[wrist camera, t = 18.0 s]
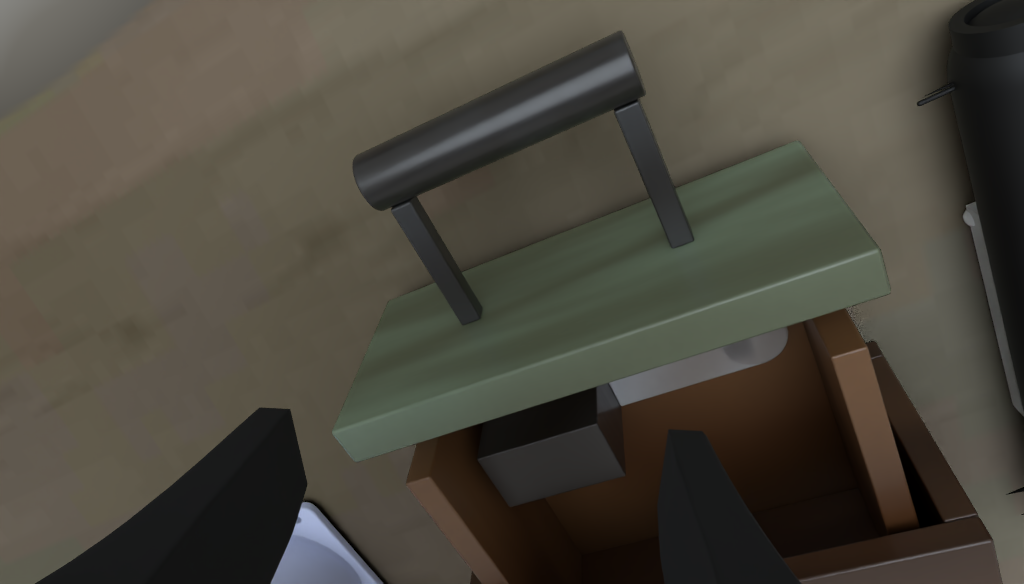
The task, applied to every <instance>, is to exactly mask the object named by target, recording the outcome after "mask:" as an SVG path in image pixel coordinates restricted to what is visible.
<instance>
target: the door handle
mask: <svg viewBox="0 0 1024 584" xmlns="http://www.w3.org/2000/svg"><path fill="white" fill-rule="evenodd" d="M949 30H950V35H951V39H952V44H953V46H952V48H951V51H950V54H949V57H948V63H947V79H948V82H947V83H948V84H947V85H945V86H943V87H941V88H939V89H937V90H936V91H934V92H937V91H939V90H942V89H945V88H947V87H949V88H947V89H945V90H943V91H941V92H939V93H936V94H934V95H932V96H930V97H928V98H925V99H923V100H921V101H919V102H918V103H917V105H918V106H922V105H924V104H926V103H928V102H930V101H933V100H935V99H937V98H939V97H942V96H944V95H946V94H948V93H950V92H951V97H952V101H953V105H954V110H955V114H956V119H957V123H958V127H959V132H960V136H961V140H962V145H963V149H964V153H965V158H966V162H967V167H968V171H969V175H970V180H971V184H972V188H973V193H974V197H975V202H973V203H971V204H968V205H966V210H965V212H964V214H963V220H964V222H965V223H966V224H967V225H969V226H970V227H971V231H972V235H973V239H974V244H975V248H976V252H977V256H978V260H979V265H980V269H981V273H982V277H983V281H984V286H985V290H986V294H987V298H988V303H989V307H990V311H991V315H992V319H993V324H994V328H995V332H996V336H997V340H998V345H999V349H1000V353H1001V357H1002V362H1003V366H1004V370H1005V374H1006V378H1007V383H1008V387H1009V391H1010V395H1011V399H1012V404H1013V405H1014V407H1015V408H1016V409H1017V410H1018V411H1019V412H1020V413H1021V414H1022V415H1023V417H1024V0H975V1H973V2H971V3H970V4H968V5H966V6H965V7H963V8H962V9H961V10H959V11H958V12H957V13H956V14H955V15H954V16H953V17H952V18H951V19H950V21H949ZM934 92H932V93H934ZM932 93H930V94H932ZM928 95H929V94H928ZM926 96H927V95H926ZM1022 491H1024V487H1023V488H1020V489H1018V490H1016V491H1013V492H1011V493H1008V494H1012V493H1017V492H1022ZM1006 495H1007V494H1006ZM1022 515H1024V514H1022Z"/></svg>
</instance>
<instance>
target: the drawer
mask: <svg viewBox="0 0 1024 584" xmlns="http://www.w3.org/2000/svg"><path fill="white" fill-rule="evenodd" d="M645 95H646V91H645V87H644V84H643V81H642V79H641V76H640V73H639V70H638V68H637V65H636V62H635V60H634V57H633V55H632V52H631V50H630V47H629V45H628V42H627V40H626V38H625V35H624V33H623V32H622V31H618V32H616V33H614V34H611V35H609V36H607V37H605V38H603V39H601V40H599V41H597V42H595V43H592V44H590V45H588V46H586V47H584V48H582V49H580V50H578V51H576V52H573V53H571V54H569V55H567V56H565V57H563V58H561V59H559V60H557V61H554V62H552V63H550V64H548V65H546V66H544V67H542V68H540V69H538V70H536V71H533V72H531V73H529V74H527V75H525V76H523V77H521V78H519V79H517V80H514V81H512V82H510V83H508V84H506V85H504V86H502V87H500V88H498V89H495V90H493V91H491V92H489V93H487V94H485V95H483V96H481V97H479V98H476V99H474V100H472V101H470V102H468V103H466V104H464V105H462V106H460V107H457V108H455V109H453V110H451V111H449V112H447V113H445V114H443V115H441V116H439V117H436V118H434V119H432V120H430V121H428V122H426V123H424V124H422V125H420V126H417V127H415V128H413V129H411V130H409V131H407V132H405V133H403V134H401V135H398V136H396V137H394V138H392V139H390V140H388V141H386V142H384V143H382V144H379V145H377V146H375V147H373V148H371V149H369V150H367V151H365V152H363V153H360V154H358V155H357V156H356V157H355V158H354V160H353V173H354V177H355V180H356V183H357V186H358V188H359V190H360V192H361V193H362V195H363V196H364V198H365V199H366V201H367V202H368V203H369V204H370V205H371V206H372V207H373V208H375V209H377V210H380V211H383V210H386V209H388V208H391V207H392V209H391V212H392V213H393V215H394V217H395V218H396V220H397V221H398V223H399V225H400V226H401V228H402V230H403V231H404V233H405V234H406V236H407V238H408V239H409V241H410V242H411V244H412V246H413V247H414V249H415V250H416V252H417V254H418V255H419V257H420V258H421V260H422V262H423V263H424V265H425V266H426V268H427V270H428V271H429V273H430V275H431V276H432V278H433V279H434V281H435V283H433V284H430V285H428V286H425V287H423V288H420V289H418V290H415V291H413V292H410V293H407V294H405V295H402V296H400V297H397V298H395V299H392V300H390V301H389V302H388V303H387V306H386V308H385V310H384V312H383V315H382V317H381V319H380V322H379V324H378V326H377V329H376V331H375V333H374V336H373V338H372V340H371V343H370V345H369V347H368V349H367V352H366V354H365V356H364V359H363V361H362V363H361V366H360V368H359V370H358V373H357V375H356V377H355V380H354V382H353V384H352V386H351V389H350V391H349V393H348V396H347V398H346V400H345V403H344V405H343V407H342V410H341V412H340V414H339V417H338V419H337V421H336V423H335V426H334V428H333V430H332V433H333V435H334V437H335V438H336V439H337V440H338V442H339V443H340V444H341V445H342V447H343V448H344V449H345V450H346V452H347V453H348V454H349V455H350V457H351V458H352V459H353V460H354V461H355V462H360V461H363V460H366V459H369V458H373V457H376V456H379V455H382V454H385V453H388V452H392V451H395V450H398V449H401V448H404V447H407V446H411V445H414V444H417V445H416V449H415V452H414V456H413V460H412V463H411V467H410V470H409V474H408V477H407V481H406V486H407V487H408V488H409V490H410V491H411V492H412V494H413V495H414V496H415V497H416V499H417V500H418V501H419V503H420V504H421V505H422V507H423V508H424V509H425V510H426V512H427V513H428V514H429V516H430V517H431V518H432V520H433V521H434V522H435V523H436V525H437V526H438V527H439V529H440V530H441V531H442V532H443V534H444V535H445V536H446V538H447V539H448V540H449V542H450V543H451V544H452V545H453V547H454V548H455V549H456V551H457V552H458V553H459V554H460V556H461V557H462V558H463V560H464V561H465V562H466V564H467V565H468V566H469V567H470V569H471V570H472V571H473V573H474V574H475V575H476V577H477V578H478V579H479V580H480V582H481V583H482V584H665V582H664V576H663V571H662V564H661V558H660V544H659V529H658V511H657V503H658V496H659V490H660V483H661V476H662V469H663V463H664V456H665V449H666V442H667V435H668V429H673V430H692V431H702V432H703V433H704V434H705V435H706V436H707V437H708V439H709V441H710V443H711V445H712V447H713V449H714V451H715V453H716V455H717V457H718V458H719V460H720V462H721V464H722V466H723V468H724V469H725V471H726V473H727V475H728V476H729V478H730V480H731V481H732V483H733V485H734V486H735V488H736V490H737V491H738V493H739V495H740V496H741V498H742V500H743V501H744V503H745V504H746V506H747V507H748V509H749V510H750V512H751V513H752V515H753V517H754V518H755V520H756V521H757V523H758V524H759V526H760V527H761V529H762V530H763V532H764V533H765V535H766V536H767V537H768V539H769V540H770V542H771V543H772V545H773V546H774V547H775V549H776V550H777V552H778V553H779V554H780V556H781V557H782V558H786V557H791V556H796V555H800V554H805V553H809V552H814V551H818V550H823V549H828V548H832V547H837V546H841V545H846V544H850V543H855V542H860V541H864V540H869V539H873V538H878V537H882V536H887V535H892V534H896V533H901V532H905V531H910V530H914V529H919V528H920V525H919V522H918V519H917V515H916V512H915V508H914V505H913V501H912V498H911V494H910V491H909V488H908V484H907V481H906V477H905V474H904V470H903V467H902V463H901V460H900V457H899V453H898V450H897V446H896V443H895V439H894V436H893V432H892V429H891V425H890V422H889V419H888V415H887V412H886V408H885V405H884V401H883V398H882V394H881V391H880V388H879V384H878V381H877V377H876V374H875V370H874V367H873V363H872V360H871V357H870V353H869V350H868V347H867V345H866V343H865V342H864V340H863V338H862V336H861V335H860V333H859V331H858V329H857V328H856V326H855V324H854V322H853V321H852V319H851V317H850V315H849V314H848V312H847V310H846V308H848V307H851V306H854V305H857V304H860V303H863V302H867V301H870V300H873V299H876V298H879V297H882V296H886V295H888V294H890V291H891V288H890V284H889V280H888V276H887V272H886V269H885V265H884V261H883V257H882V253H881V249H880V248H879V247H878V245H877V244H876V243H875V241H874V240H873V239H872V237H871V236H870V235H869V233H868V232H867V231H866V229H865V228H864V227H863V225H862V224H861V223H860V221H859V220H858V219H857V217H856V216H855V215H854V213H853V212H852V211H851V209H850V208H849V206H848V205H847V204H846V202H845V201H844V200H843V198H842V197H841V196H840V194H839V193H838V192H837V190H836V189H835V188H834V186H833V185H832V184H831V182H830V181H829V180H828V178H827V177H826V176H825V174H824V173H823V172H822V170H821V169H820V168H819V166H818V165H817V164H816V162H815V161H814V159H813V158H812V157H811V155H810V154H809V153H808V151H807V150H806V149H805V147H804V146H803V145H802V143H801V142H800V141H795V142H792V143H789V144H787V145H784V146H782V147H779V148H777V149H774V150H772V151H769V152H767V153H764V154H761V155H759V156H756V157H754V158H751V159H749V160H746V161H744V162H741V163H738V164H736V165H733V166H731V167H728V168H726V169H723V170H721V171H718V172H716V173H713V174H710V175H708V176H705V177H703V178H700V179H698V180H695V181H693V182H690V183H688V184H685V185H682V186H680V187H677V188H675V187H674V184H673V182H672V179H671V177H670V174H669V172H668V169H667V167H666V164H665V162H664V159H663V157H662V154H661V152H660V149H659V147H658V144H657V142H656V139H655V137H654V134H653V132H652V129H651V127H650V124H649V122H648V119H647V117H646V114H645V112H644V109H643V107H642V104H641V102H640V99H639V98H641V97H643V96H645ZM613 109H614V113H615V116H616V118H617V121H618V123H619V125H620V128H621V130H622V132H623V135H624V137H625V140H626V142H627V144H628V147H629V149H630V151H631V154H632V156H633V158H634V161H635V163H636V166H637V168H638V170H639V173H640V175H641V177H642V180H643V182H644V185H645V187H646V189H647V192H648V194H649V196H650V198H649V199H647V200H644V201H642V202H639V203H637V204H634V205H632V206H629V207H626V208H624V209H621V210H619V211H616V212H614V213H611V214H609V215H606V216H604V217H601V218H598V219H596V220H593V221H591V222H588V223H586V224H583V225H581V226H578V227H576V228H573V229H570V230H568V231H565V232H563V233H560V234H558V235H555V236H553V237H550V238H548V239H545V240H542V241H540V242H537V243H535V244H532V245H530V246H527V247H525V248H522V249H519V250H517V251H514V252H512V253H509V254H507V255H504V256H502V257H499V258H497V259H494V260H491V261H489V262H486V263H484V264H481V265H479V266H476V267H474V268H471V269H469V270H466V271H463V272H461V271H460V269H459V267H458V265H457V264H456V262H455V260H454V259H453V257H452V255H451V254H450V252H449V250H448V249H447V247H446V245H445V244H444V242H443V240H442V239H441V237H440V235H439V234H438V232H437V230H436V229H435V227H434V225H433V224H432V222H431V220H430V219H429V217H428V215H427V214H426V212H425V210H424V208H423V207H422V205H421V203H420V202H419V200H418V198H417V197H416V196H418V195H420V194H422V193H425V192H427V191H429V190H431V189H434V188H436V187H438V186H441V185H443V184H445V183H447V182H450V181H452V180H454V179H456V178H459V177H461V176H463V175H466V174H468V173H470V172H472V171H475V170H477V169H479V168H482V167H484V166H486V165H488V164H491V163H493V162H495V161H497V160H500V159H502V158H504V157H507V156H509V155H511V154H513V153H516V152H518V151H520V150H522V149H525V148H527V147H529V146H532V145H534V144H536V143H538V142H541V141H543V140H545V139H547V138H550V137H552V136H554V135H557V134H559V133H561V132H563V131H566V130H568V129H570V128H572V127H575V126H577V125H579V124H582V123H584V122H586V121H588V120H591V119H593V118H595V117H598V116H600V115H602V114H604V113H607V112H609V111H611V110H613ZM784 327H787V330H788V340H787V343H786V346H785V347H784V349H783V350H782V352H781V353H780V354H779V355H778V356H776V357H775V358H774V359H772V360H770V361H768V362H766V363H763V364H760V365H756V366H753V367H750V368H746V369H743V370H740V371H736V372H733V373H730V374H726V375H723V376H720V377H717V378H713V379H710V380H707V381H703V382H700V383H697V384H693V385H690V386H687V387H683V388H680V389H677V390H674V391H670V392H667V393H664V394H660V395H657V396H654V397H650V398H647V399H644V400H640V401H637V402H634V403H631V404H627V405H624V406H621V410H622V425H623V440H624V454H625V469H626V476H624V477H620V478H617V479H613V480H609V481H606V482H602V483H598V484H594V485H591V486H587V487H583V488H580V489H576V490H572V491H569V492H565V493H561V494H557V495H554V496H550V497H546V498H543V499H539V500H535V501H532V502H528V503H524V504H520V505H517V506H513V507H509V506H508V504H507V503H506V501H505V500H504V498H503V497H502V495H501V494H500V493H499V491H498V490H497V488H496V487H495V485H494V484H493V482H492V481H491V479H490V478H489V476H488V475H487V474H486V472H485V471H484V469H483V468H482V466H481V465H480V463H479V462H478V460H477V456H478V450H479V445H480V439H481V433H482V428H483V422H487V421H490V420H493V419H496V418H499V417H502V416H506V415H509V414H512V413H515V412H518V411H521V410H525V409H528V408H531V407H534V406H537V405H540V404H544V403H547V402H550V401H553V400H556V399H559V398H563V397H566V396H569V395H572V394H575V393H578V392H582V391H585V390H588V389H591V388H594V387H597V386H601V385H604V384H607V383H610V382H613V381H616V380H620V379H623V378H626V377H629V376H632V375H635V374H639V373H642V372H645V371H648V370H651V369H654V368H658V367H661V366H664V365H667V364H670V363H673V362H677V361H680V360H683V359H686V358H689V357H692V356H696V355H699V354H702V353H705V352H708V351H711V350H715V349H718V348H721V347H724V346H727V345H730V344H734V343H737V342H740V341H743V340H746V339H749V338H753V337H756V336H759V335H762V334H765V333H768V332H772V331H775V330H778V329H781V328H784Z"/></svg>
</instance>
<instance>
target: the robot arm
mask: <svg viewBox="0 0 1024 584" xmlns="http://www.w3.org/2000/svg"><path fill="white" fill-rule="evenodd" d="M306 487H307V480H306V476H305V471H304V467H303V463H302V458H301V454H300V450H299V445H298V441H297V437H296V433H295V428H294V424H293V420H292V415H291V411H290V409H276V408H259V409H258V410H256V411H255V412H254V413H253V414H252V415H251V416H249V417H248V418H247V419H246V420H245V421H244V422H243V423H242V424H241V425H239V426H238V427H237V428H236V429H235V430H234V431H233V432H232V433H230V434H229V435H228V436H227V437H226V438H225V439H224V440H223V441H222V442H220V443H219V444H218V445H217V446H216V447H215V448H214V449H213V450H212V451H210V452H209V453H208V454H207V455H206V456H205V457H204V458H203V459H202V460H200V461H199V462H198V463H197V464H196V465H195V466H193V467H192V468H191V469H190V470H189V471H188V472H187V473H185V474H184V475H183V476H182V477H181V478H180V479H179V480H177V481H176V482H175V483H174V484H173V485H172V486H170V487H169V488H168V489H167V490H165V491H164V492H163V493H162V494H160V495H159V496H158V497H157V498H155V499H154V500H153V501H152V502H150V503H149V504H148V505H147V506H146V507H144V508H143V509H142V510H141V511H139V512H138V513H137V514H136V515H134V516H133V517H132V518H131V519H129V520H128V521H127V522H125V523H124V524H123V525H121V526H120V527H119V528H117V529H116V530H115V531H113V532H112V533H111V534H109V535H108V536H107V537H105V538H104V539H102V540H101V541H100V542H98V543H97V544H95V545H94V546H92V547H91V548H89V549H88V550H87V551H85V552H84V553H82V554H81V555H79V556H78V557H76V558H75V559H73V560H72V561H70V562H69V563H67V564H66V565H64V566H63V567H61V568H60V569H58V570H56V571H55V572H53V573H52V574H50V575H48V576H47V577H45V578H43V579H42V580H40V581H39V582H37V583H35V584H384V583H383V582H382V581H381V580H380V579H379V578H378V577H377V575H376V574H375V573H374V572H373V571H372V570H371V569H370V567H369V566H368V565H367V564H366V563H365V562H364V561H363V559H362V558H361V557H360V556H359V555H358V554H357V553H356V551H355V550H354V549H353V548H352V547H351V546H350V545H349V543H348V542H347V541H346V540H345V539H344V538H343V537H342V535H341V534H340V533H339V532H338V531H337V530H336V529H335V527H334V526H333V525H332V524H331V523H330V522H329V521H328V519H327V518H326V517H325V516H324V515H323V514H322V513H321V511H320V510H319V509H318V508H317V507H316V506H315V505H314V504H312V503H309V502H302V501H303V498H304V494H305V491H306ZM657 511H658V529H659V544H660V558H661V564H662V571H663V576H664V582H665V584H802V583H801V582H800V581H799V580H798V578H797V577H796V576H795V574H794V573H793V572H792V571H791V569H790V568H789V566H788V565H787V564H786V562H785V561H784V560H783V558H782V557H781V556H780V554H779V553H778V552H777V550H776V549H775V547H774V546H773V545H772V543H771V542H770V540H769V539H768V537H767V536H766V535H765V533H764V532H763V530H762V529H761V527H760V526H759V524H758V523H757V521H756V520H755V518H754V517H753V515H752V513H751V512H750V510H749V509H748V507H747V506H746V504H745V503H744V501H743V500H742V498H741V496H740V495H739V493H738V491H737V490H736V488H735V486H734V485H733V483H732V481H731V480H730V478H729V476H728V475H727V473H726V471H725V469H724V468H723V466H722V464H721V462H720V460H719V458H718V457H717V455H716V453H715V451H714V449H713V447H712V445H711V443H710V441H709V439H708V437H707V436H706V435H705V434H704V433H703V432H702V431H692V430H673V429H668V435H667V442H666V449H665V456H664V463H663V469H662V476H661V483H660V490H659V496H658V503H657Z"/></svg>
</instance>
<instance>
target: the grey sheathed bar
mask: <svg viewBox="0 0 1024 584" xmlns="http://www.w3.org/2000/svg"><path fill="white" fill-rule="evenodd" d="M787 340H788V330H787V327H784V328H781V329H778V330H775V331H772V332H768V333H765V334H762V335H759V336H756V337H753V338H749V339H746V340H743V341H740V342H737V343H734V344H730V345H727V346H724V347H721V348H718V349H715V350H711V351H708V352H705V353H702V354H699V355H696V356H692V357H689V358H686V359H683V360H680V361H677V362H673V363H670V364H667V365H664V366H661V367H658V368H654V369H651V370H648V371H645V372H642V373H639V374H635V375H632V376H629V377H626V378H623V379H620V380H616V381H613V382H610V383H607V384H604V385H601V386H597V387H594V388H591V389H588V390H585V391H582V392H578V393H575V394H572V395H569V396H566V397H563V398H559V399H556V400H553V401H550V402H547V403H544V404H540V405H537V406H534V407H531V408H528V409H525V410H521V411H518V412H515V413H512V414H509V415H506V416H502V417H499V418H496V419H493V420H490V421H487V422H483V428H482V433H481V439H480V445H479V450H478V456H477V460H478V462H479V463H480V465H481V466H482V468H483V469H484V471H485V472H486V474H487V475H488V476H489V478H490V479H491V481H492V482H493V484H494V485H495V487H496V488H497V490H498V491H499V493H500V494H501V495H502V497H503V498H504V500H505V501H506V503H507V504H508V506H509V507H513V506H517V505H520V504H524V503H528V502H532V501H535V500H539V499H543V498H546V497H550V496H554V495H557V494H561V493H565V492H569V491H572V490H576V489H580V488H583V487H587V486H591V485H594V484H598V483H602V482H606V481H609V480H613V479H617V478H620V477H624V476H626V469H625V454H624V440H623V425H622V410H621V406H624V405H627V404H631V403H634V402H637V401H640V400H644V399H647V398H650V397H654V396H657V395H660V394H664V393H667V392H670V391H674V390H677V389H680V388H683V387H687V386H690V385H693V384H697V383H700V382H703V381H707V380H710V379H713V378H717V377H720V376H723V375H726V374H730V373H733V372H736V371H740V370H743V369H746V368H750V367H753V366H756V365H760V364H763V363H766V362H768V361H770V360H772V359H774V358H775V357H776V356H778V355H779V354H780V353H781V352H782V350H783V349H784V347H785V346H786V343H787Z"/></svg>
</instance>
